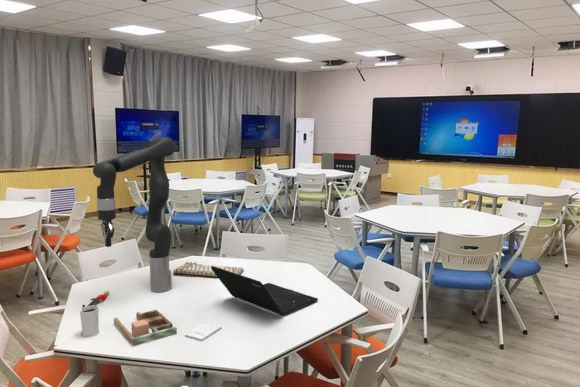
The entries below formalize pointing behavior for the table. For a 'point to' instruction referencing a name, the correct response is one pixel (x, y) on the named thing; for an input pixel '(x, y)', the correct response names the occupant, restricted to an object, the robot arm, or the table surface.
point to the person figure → (98, 298)
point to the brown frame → (156, 323)
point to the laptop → (263, 293)
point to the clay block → (140, 328)
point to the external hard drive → (203, 331)
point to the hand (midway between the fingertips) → (108, 246)
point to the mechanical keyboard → (201, 270)
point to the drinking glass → (90, 320)
